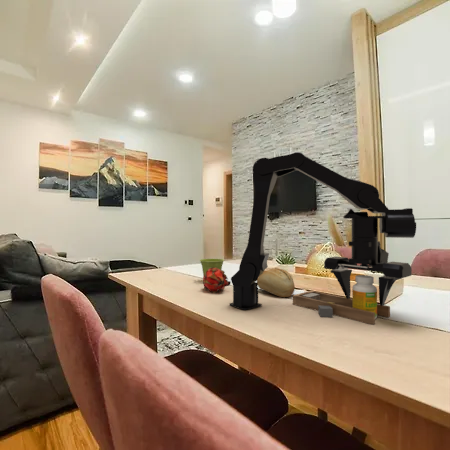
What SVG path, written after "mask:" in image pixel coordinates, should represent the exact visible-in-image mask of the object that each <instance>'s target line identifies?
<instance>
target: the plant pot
mask: <svg viewBox="0 0 450 450" xmlns="http://www.w3.org/2000/svg"><path fill="white" fill-rule="evenodd" d="M224 261H225V259H222V258H202V259H199V262H200V265H201V267H202V268H201V269H202V274H203V275H204V273H205V272H206V271H208V269H209V268H211V267H214V268H218V269H220V270H222V269H223V265H224Z"/></svg>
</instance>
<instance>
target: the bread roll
mask: <svg viewBox="0 0 450 450" xmlns="http://www.w3.org/2000/svg"><path fill="white" fill-rule="evenodd" d="M256 283H257V287H258V289H260V290H263V291H265V292H267V293H270V294H272V295H274V296H277V297H280V298H285V297H287V298H290V297H291V296H293V295H294V293H295V289H296V288H295V281H294V278H293V277H292V275H291V273H290V272H289V271H287V270H285V269H282V268H269V269H265V270H264V272H263V273H262V274H261V275H260V276H259V277H258V279H257V281H256Z"/></svg>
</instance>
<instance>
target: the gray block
mask: <svg viewBox="0 0 450 450" xmlns="http://www.w3.org/2000/svg"><path fill="white" fill-rule="evenodd" d="M317 312H318V315H319V316H320V317H321V318H333V317H334V315H333V309H332V308H331V306H320V305H318V311H317Z"/></svg>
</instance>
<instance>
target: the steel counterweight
mask: <svg viewBox="0 0 450 450" xmlns="http://www.w3.org/2000/svg"><path fill="white" fill-rule="evenodd" d="M302 296H303V297H308V298H312V299H316V300H320V294H315V293H310V294H306V295H302Z"/></svg>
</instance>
